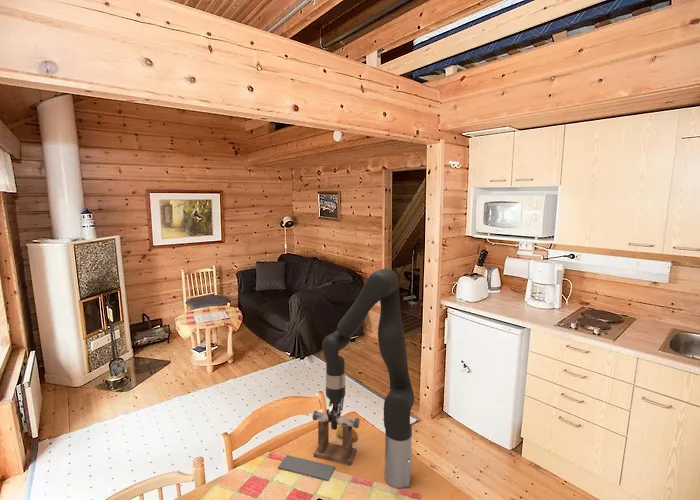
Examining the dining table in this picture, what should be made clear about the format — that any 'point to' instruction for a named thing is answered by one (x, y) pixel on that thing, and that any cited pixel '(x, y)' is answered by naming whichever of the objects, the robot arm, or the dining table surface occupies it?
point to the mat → (307, 467)
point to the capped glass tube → (340, 419)
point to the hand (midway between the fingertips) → (335, 426)
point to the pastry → (340, 433)
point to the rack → (335, 445)
